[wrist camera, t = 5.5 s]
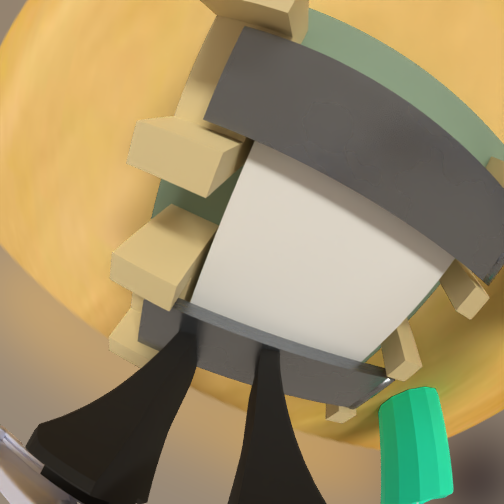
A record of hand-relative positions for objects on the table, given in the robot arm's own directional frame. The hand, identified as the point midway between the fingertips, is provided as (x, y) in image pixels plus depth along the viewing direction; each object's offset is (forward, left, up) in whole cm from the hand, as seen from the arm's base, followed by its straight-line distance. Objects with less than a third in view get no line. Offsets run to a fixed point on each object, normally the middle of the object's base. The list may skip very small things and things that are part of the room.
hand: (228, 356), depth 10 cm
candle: (-18, +6, -6) cm, 20 cm away
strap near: (-2, -9, -1) cm, 9 cm away
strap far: (-2, 0, -1) cm, 2 cm away
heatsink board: (-1, -5, -5) cm, 7 cm away
